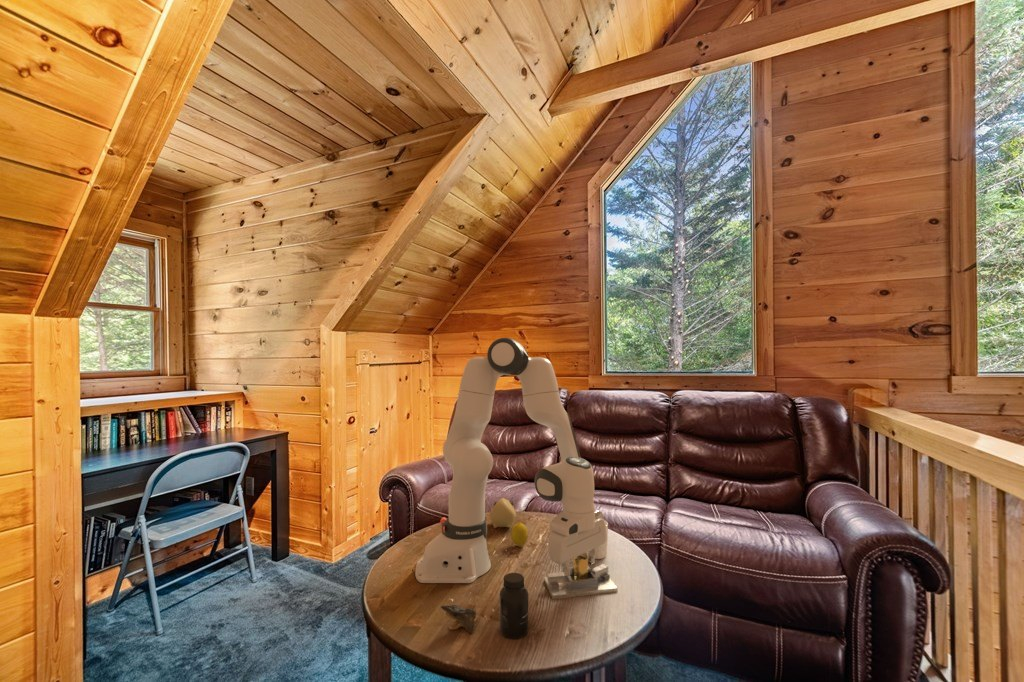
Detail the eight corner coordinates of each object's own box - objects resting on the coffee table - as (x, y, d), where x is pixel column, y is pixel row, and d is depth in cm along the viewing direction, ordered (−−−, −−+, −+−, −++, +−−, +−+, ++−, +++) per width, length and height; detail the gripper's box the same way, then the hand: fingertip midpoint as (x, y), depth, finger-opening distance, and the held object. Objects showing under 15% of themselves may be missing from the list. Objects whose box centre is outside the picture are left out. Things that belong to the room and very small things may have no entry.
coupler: (570, 582, 114) (570, 555, 115) (579, 577, 117) (579, 551, 117) (582, 588, 111) (581, 561, 112) (591, 583, 114) (590, 556, 114)
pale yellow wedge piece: (517, 520, 160) (516, 492, 161) (515, 533, 148) (514, 503, 149) (491, 519, 161) (491, 492, 161) (488, 533, 149) (487, 503, 149)
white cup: (610, 560, 129) (610, 527, 129) (585, 560, 129) (584, 527, 129) (605, 548, 136) (605, 517, 137) (581, 548, 137) (581, 517, 137)
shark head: (444, 643, 94) (441, 616, 93) (442, 621, 100) (439, 596, 99) (479, 634, 96) (477, 608, 95) (474, 613, 102) (472, 588, 101)
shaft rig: (552, 599, 109) (552, 584, 109) (544, 580, 117) (544, 567, 118) (617, 591, 112) (617, 577, 112) (604, 574, 120) (604, 561, 121)
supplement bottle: (530, 639, 94) (529, 584, 94) (500, 641, 93) (499, 586, 93) (527, 619, 100) (526, 569, 101) (498, 621, 100) (498, 570, 100)
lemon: (511, 542, 141) (511, 518, 142) (527, 542, 141) (527, 518, 141) (510, 550, 136) (510, 525, 136) (527, 550, 136) (527, 525, 136)
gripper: (593, 505, 124) (594, 552, 124) (544, 524, 111) (545, 577, 111) (611, 511, 119) (612, 560, 119) (562, 532, 106) (562, 587, 106)
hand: (579, 568), depth 115 cm, fingers open, 8 cm apart
